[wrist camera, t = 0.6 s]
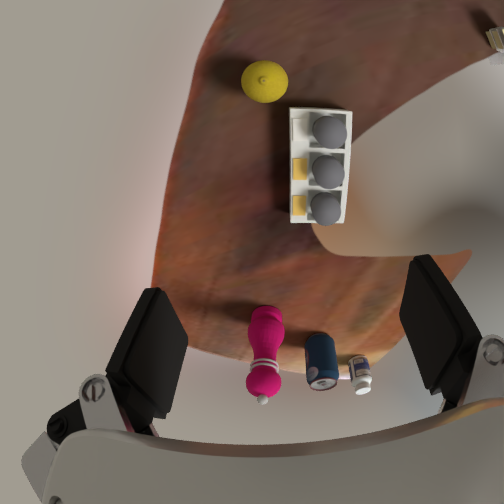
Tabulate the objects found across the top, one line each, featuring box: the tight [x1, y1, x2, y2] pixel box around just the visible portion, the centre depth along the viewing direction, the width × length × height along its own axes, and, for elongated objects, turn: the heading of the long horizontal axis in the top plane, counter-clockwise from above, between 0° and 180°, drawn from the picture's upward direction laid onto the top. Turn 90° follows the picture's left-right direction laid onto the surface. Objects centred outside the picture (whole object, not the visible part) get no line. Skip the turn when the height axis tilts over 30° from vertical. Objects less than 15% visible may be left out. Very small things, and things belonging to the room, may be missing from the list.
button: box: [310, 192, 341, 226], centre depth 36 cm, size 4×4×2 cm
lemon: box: [241, 60, 288, 103], centre depth 27 cm, size 6×6×8 cm
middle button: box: [312, 155, 345, 189], centre depth 33 cm, size 4×4×2 cm
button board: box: [289, 107, 352, 223], centre depth 35 cm, size 16×8×3 cm, turn 3°
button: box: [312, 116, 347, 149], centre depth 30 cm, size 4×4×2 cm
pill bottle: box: [348, 355, 372, 394], centre depth 60 cm, size 5×5×10 cm
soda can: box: [305, 333, 339, 391], centre depth 54 cm, size 7×7×12 cm
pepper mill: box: [246, 306, 285, 404], centre depth 47 cm, size 7×7×20 cm
